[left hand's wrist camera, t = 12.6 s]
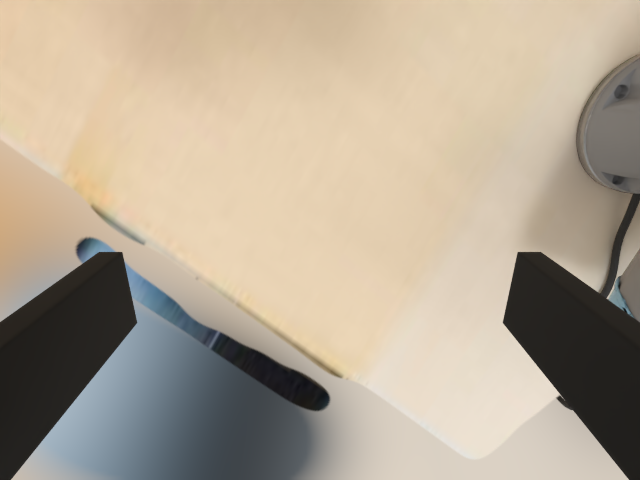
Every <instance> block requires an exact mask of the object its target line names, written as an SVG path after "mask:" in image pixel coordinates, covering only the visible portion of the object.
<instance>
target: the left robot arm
mask: <svg viewBox="0 0 640 480" xmlns="http://www.w3.org/2000/svg"><path fill="white" fill-rule="evenodd" d="M577 150H578V155H579V159H580V161H581V164H582V166H583V168H584V169H585V171H586V172H587V173H588V175H589V176H590V177H591V178H592V179H594V180H595V181H596V182H598V183H599V184H601V185H603V186H605V187H608V188H611V189H614V190H618V191H621V192H626V193H633V196H632V198H631V201H630V204H629V206H628V209H627V211H626V214H625V216H624V218H623V221H622V223H621V225H620V227H619V230H618V232H617V235H616V238H615V242H614V246H613V251H612V257H611V264H610V270H609V275H608V278H607V281H606V284H605V286H604V288H603V290H602V292H601V294H599V293H598V292H596V291H595V290H594V289H592V288H591V287H589V286H588V285H587V284H585V283H584V282H582V281H581V280H580V279H578V278H577V277H575V276H574V275H572V274H571V273H570V272H568V271H567V270H565V269H564V268H563V267H561V266H560V265H558V264H557V263H556V262H554V261H553V260H551V259H550V258H548V257H547V256H546V255H544V254H543V253H541V252H518V254H517V258H516V263H515V268H514V273H513V277H512V282H511V287H510V291H509V296H508V301H507V306H506V310H505V315H504V320H503V324H504V325H505V326H506V327H507V329H508V330H509V331H510V332H511V333H512V335H513V336H514V337H515V338H516V340H517V341H518V342H519V343H520V345H521V346H522V347H523V348H524V350H525V351H526V352H527V353H528V355H529V356H530V357H531V358H532V360H533V361H534V362H535V363H536V365H537V366H538V367H539V368H540V370H541V371H542V372H543V373H544V374H545V376H546V377H547V378H548V379H549V381H550V382H551V383H552V384H553V386H554V387H555V388H556V389H557V391H558V392H559V393H560V394H561V396H562V397H563V398H564V399H565V400H564V399H563V398H562V397H561V396H560V395H559V396H558V397H556V399H557V400H558V401H559V402H560V403H561V404H562V405H563V406H564V407H566V408H568V409H570V410H573V411H574V412H575V413H576V414H577V416H578V417H579V418H580V419H581V420H582V422H583V423H584V424H585V425H586V427H587V428H588V429H589V430H590V432H591V433H592V434H593V435H594V437H595V438H596V439H597V440H598V442H599V443H600V444H601V445H602V447H603V448H604V449H605V450H606V452H607V453H608V454H609V455H610V456H611V458H612V459H613V460H614V461H615V463H616V464H617V465H618V466H619V468H620V469H621V470H622V471H623V473H624V474H625V475H626V476H627V478H628V479H629V480H640V249H639V251H638V252H637V254H636V255H635V257H634V258H633V260H632V261H631V263H630V264H629V266H628V267H627V269H626V270H625V272H624V273H623V275H621V276H619V277H618V278H617V280H616V282H615V289H614V290H613V292H612V294H611V296H610V297H609V299H606V298H607V296H608V295H609V293H610V291H611V289H612V287H613V284H614V281H615V278H616V274H617V269H618V263H619V256H620V250H621V246H622V242H623V239H624V236H625V234H626V231H627V229H628V227H629V225H630V223H631V220H632V218H633V216H634V213H635V211H636V208H637V206H638V203H639V201H640V54H639V55H636V56H634V57H633V58H631V59H629V60H627V61H626V62H624V63H622V64H621V65H620V66H618V67H617V68H616V69H614V70H613V71H612V72H611V73H610V74H609V75H608V76H607V77H606V78H605V79H604V80H603V81H602V82H601V83H600V84H599V85H598V87H597V88H596V89H595V91H594V92H593V93H592V95H591V97H590V98H589V100H588V102H587V104H586V106H585V108H584V110H583V112H582V115H581V118H580V121H579V125H578V131H577ZM136 323H137V320H136V315H135V310H134V306H133V301H132V296H131V291H130V287H129V282H128V277H127V273H126V268H125V263H124V258H123V254H122V252H99V253H97V254H96V255H94V256H93V257H92V258H90V259H89V260H87V261H86V262H84V263H83V264H82V265H80V266H79V267H77V268H76V269H75V270H73V271H72V272H70V273H69V274H68V275H66V276H65V277H63V278H62V279H60V280H59V281H58V282H56V283H55V284H53V285H52V286H51V287H49V288H48V289H46V290H45V291H44V292H42V293H41V294H39V295H38V296H37V297H35V298H34V299H32V300H31V301H29V302H28V303H27V304H25V305H24V306H22V307H21V308H20V309H18V310H17V311H15V312H14V313H13V314H11V315H10V316H8V317H7V318H6V319H4V320H3V321H1V322H0V480H11V479H12V478H13V476H14V475H15V474H16V473H17V471H18V470H19V469H20V468H21V466H22V465H23V464H24V463H25V461H26V460H27V459H28V458H29V456H30V455H31V454H32V453H33V451H34V450H35V449H36V448H37V447H38V445H39V444H40V443H41V441H42V440H43V439H44V438H45V437H46V435H47V434H48V433H49V432H50V430H51V429H52V428H53V427H54V425H55V424H56V423H57V422H58V420H59V419H60V418H61V417H62V415H63V414H64V413H65V412H66V410H67V409H68V408H69V407H70V406H71V404H72V403H73V402H74V401H75V399H76V398H77V397H78V396H79V394H80V393H81V392H82V391H83V389H84V388H85V387H86V386H87V384H88V383H89V382H90V381H91V379H92V378H93V377H94V376H95V374H96V373H97V372H98V371H99V370H100V368H101V367H102V366H103V365H104V363H105V362H106V361H107V360H108V358H109V357H110V356H111V355H112V353H113V352H114V351H115V350H116V348H117V347H118V346H119V345H120V343H121V342H122V341H123V340H124V338H125V337H126V336H127V335H128V333H129V332H130V331H131V330H132V329H133V327H134V326H135V325H136Z"/></svg>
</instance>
